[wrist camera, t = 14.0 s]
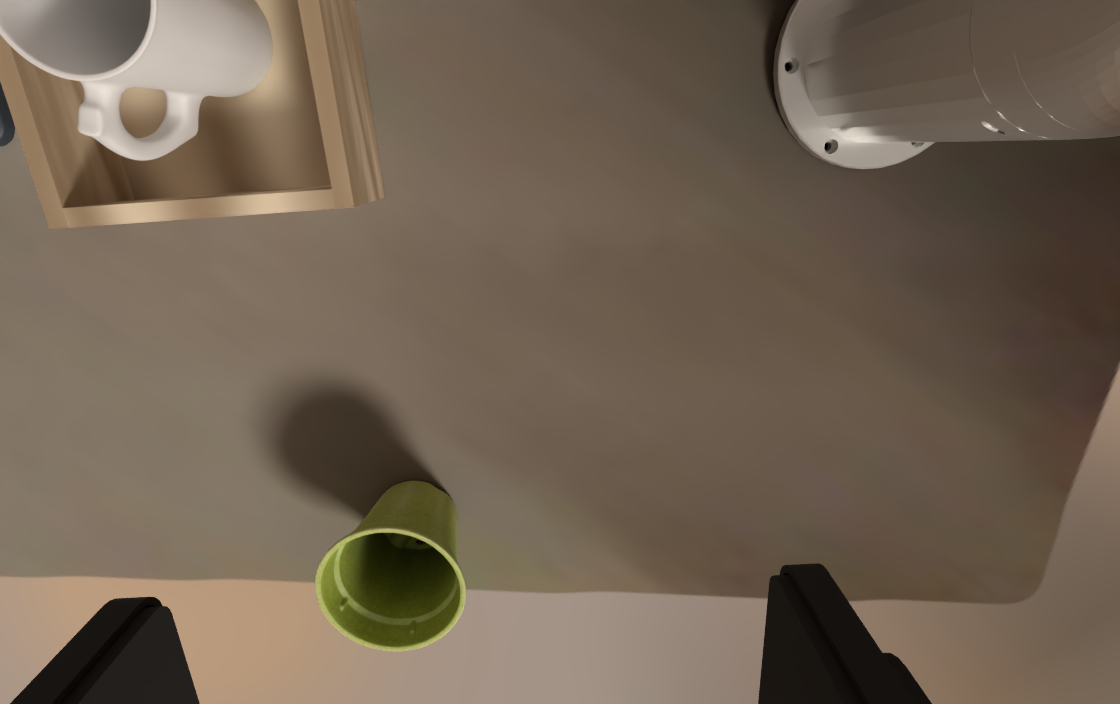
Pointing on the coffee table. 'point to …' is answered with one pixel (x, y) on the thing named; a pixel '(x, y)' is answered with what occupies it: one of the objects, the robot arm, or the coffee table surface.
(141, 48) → the mug
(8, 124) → the smartphone
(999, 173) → the coffee table surface
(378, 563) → the plant pot
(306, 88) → the open wooden crate
